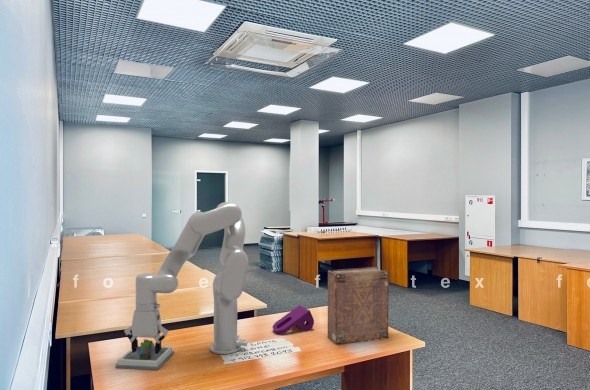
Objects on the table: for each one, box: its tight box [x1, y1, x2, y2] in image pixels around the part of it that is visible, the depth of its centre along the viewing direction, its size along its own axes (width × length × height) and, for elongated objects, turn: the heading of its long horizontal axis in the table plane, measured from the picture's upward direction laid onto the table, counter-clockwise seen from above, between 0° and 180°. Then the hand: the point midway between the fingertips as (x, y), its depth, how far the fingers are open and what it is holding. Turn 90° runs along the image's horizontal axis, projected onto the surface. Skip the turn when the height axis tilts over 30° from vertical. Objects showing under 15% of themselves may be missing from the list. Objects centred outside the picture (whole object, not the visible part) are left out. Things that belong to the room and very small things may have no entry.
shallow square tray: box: [115, 344, 175, 371], centre depth 154 cm, size 16×15×3 cm
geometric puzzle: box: [136, 338, 155, 359], centre depth 154 cm, size 7×7×8 cm
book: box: [327, 266, 390, 345], centre depth 179 cm, size 25×9×30 cm, turn 108°
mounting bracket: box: [272, 305, 315, 335], centre depth 189 cm, size 9×8×18 cm
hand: (146, 351), depth 154 cm, fingers open, 8 cm apart
